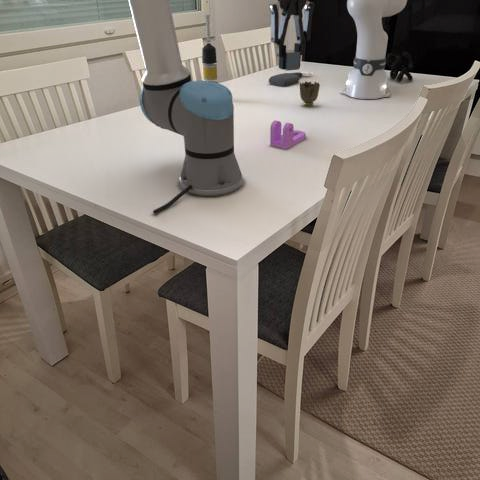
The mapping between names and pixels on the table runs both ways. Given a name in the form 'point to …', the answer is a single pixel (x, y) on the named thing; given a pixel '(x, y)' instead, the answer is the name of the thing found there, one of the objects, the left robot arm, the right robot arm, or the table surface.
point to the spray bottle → (288, 78)
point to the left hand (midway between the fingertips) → (289, 67)
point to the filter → (209, 57)
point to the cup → (309, 92)
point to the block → (292, 60)
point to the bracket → (284, 135)
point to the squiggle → (399, 66)
